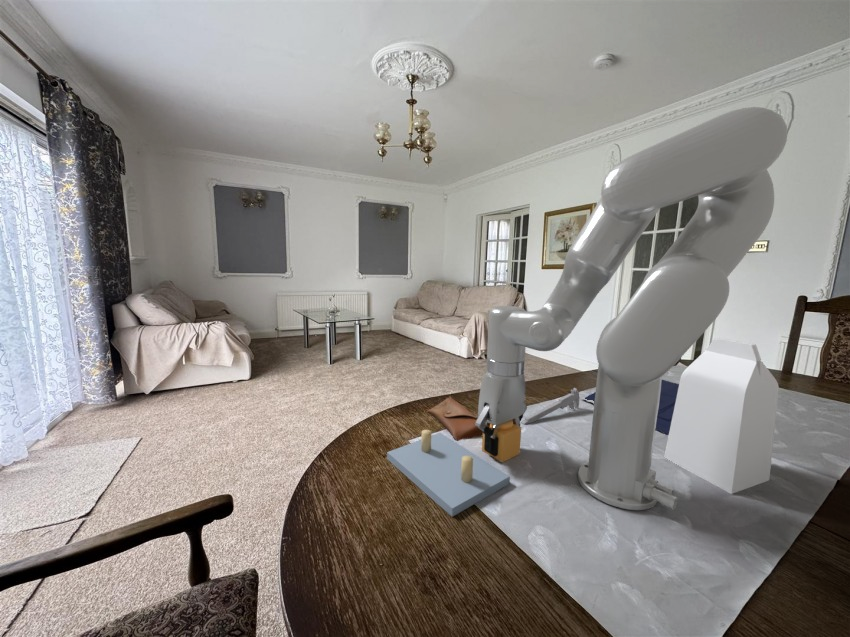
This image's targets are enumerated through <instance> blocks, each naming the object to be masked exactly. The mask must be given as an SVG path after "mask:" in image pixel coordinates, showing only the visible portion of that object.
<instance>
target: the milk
mask: <svg viewBox="0 0 850 637" xmlns="http://www.w3.org/2000/svg"><path fill="white" fill-rule="evenodd" d="M678 384H679V388H678V393H677V397H676V402H675V407H674V412H673V417H672V421H671V426H670V431H669V435H667V436H668V437H667V442H666V446H665V452H664V456H663V458H664V457H665V458H667V459H668V460H667V459H666V460H667V461H669V460H670V461H669V462H671V461H672V462H673V463H672V462H671V463H672V464H674V463H675V465H676V464H677V465H676V466H678V465H679V466H678V467H680V468H682V469H684V470H685V471H688V472H689V473H691V474H693V475H694V476H697V477H699V478H701V479H703V480H705V481H707V482H708V483H710V484H712V485H713V486H715V487H718V488H719V489H721V490H722V491H723V490H724V491H725V492H726V493H729V494H731V495H733V494H734V493H739V492H741V491H744V490H747V489H749V488H752V487H754V486H757V485H760V484H763V483H765V482H768V481H770V477H771V476H770V475H771V467H772V459H773V449H774V439H775V430H776V419H777V412H778V401H779V392H780V389H779V388H780V387H779V383H778V381H777V379H776V378H775V376H774V375H773V373H772V372H770V370H769V369H768V367H767V366H766V365H765V364H764V362H763V361H762V358H761V356H760V353H759V350H758V347H757V344H754V343H750V342H743V341H738V340H732V339H727V338H721V337H715V338H713V340H712V341H711V343H710V344H709V345H708V346H707V348H706V349H705V350H704V351H703V352H702V353H701V354H700V355H699V356H698V357H696V359H694V361H692V363H690V364H689V365H688V366H687V367H686V368H685V369H684V371H683V372H682V374H681V375H680V379H679V383H678ZM665 458H664V459H665Z"/></svg>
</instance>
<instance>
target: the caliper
mask: <svg viewBox="0 0 850 637" xmlns="http://www.w3.org/2000/svg"><path fill="white" fill-rule="evenodd" d="M579 405H580V392H579V391H578V388H576V387H573V388H572V389H570V393H568V394H565V395H564V396H561V397H559V399H558V400H557V401H555V402H553V403H552V404H549V405H548V406H546V407H543V408H541V409H540V410H538V411H535V412H534V413H532V414H530V415H528V416H526V417H525V418H524V420H521V421H520V424H522V425H527V424H532V423H534V422H536V421H538V420H540V419H542V418H543V417H545V416H547V415H549V414H552V412H555V411H556V410H558V409H561V410H564V409H565V408H567V407H569V409H570V408H571V409H574V410H575V409H576V408H578V409H579V407H580V406H579ZM574 407H576V408H574ZM571 409H570V410H571ZM531 422H532V423H531Z"/></svg>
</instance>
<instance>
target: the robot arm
mask: <svg viewBox="0 0 850 637" xmlns="http://www.w3.org/2000/svg"><path fill="white" fill-rule="evenodd" d="M788 133H789V132H788V127H787V124H786V122H785V119H784V118H783V117H782V116H781V115H780V114H779V113H777V112H776V111H774V110H772V109H769V108H766V107H759V106H752V107H749V106H748V107H742V108H739V109H738V108H737V109H734V110H731V111H728V112H725V113H722V114H720V115H718V116H716V117H713V118H711V119H708V120H706V121H704V122H702V123H700V124H698V125H696V126H693V127H691V128H689V129H686V130H685V131H683V132H680V133H678V134H676V135H674V136H672V137H670V138H667V139H664V140H662V141H660V142H659V143H656V144H654V145H650V146H649V147H646V148H645V149H642V150H640V151H639V152H637V153H634V154H632V155H630V156H627V157H626V158H624V159H623V160H621V161H619V162H618V163H616V165H614V166H613V167H612V168H611V169H610V170H609V171H608V172H607V175H605V177H604V179H603V181H602V185H601V194H600V195H601V197H600V199H599V201H598V202H597V204H596V205H595V207H594V208H593V210H592V212H591V214H590V215H589V216H588V219H587V220H586V221H585V223H584V224H583V226H582V227H581V229H580V231H579V233H578V234H577V236H576V237H575V239H574V241H573V242H572V243H571V245H570V247H569V248H568V250H567V252H566V256H565V259H564V264H563V265H564V266H563V268H562V269H563V270H562V273H561V275H560V277H559V279H558V281H557V284H556V285H555V286H554V287H555V288H554V289H553V290H552V292H551V293H550V295H549V296H548V298H547V300H546V301H545V303H544V305H543V306H542V307H541V309H540V308H539V309H538V310H533V311H529V310H528V311H526V309H524V308H523V307H519V306H514V305H498V306H494V307H491V309H490V310H489V314H488V325H487V328H488V329H487V330H488V331H487V345H486V347H487V350H486V372H485V373H483V376H482V379H481V384H480V388H479V394H478V395H479V397H478V406H477V408H478V409H477V418H478V419H477V421H476V423H475V425H476V426H477V427H478V428H479V429H480V430H481V431H482V432H483V434H485V442H484V450H485V451H486V452H488V453H490V454H491V455H493V456H497V454H498V438H497V437H496V436H497V432H498V429H499V425H500V424H502V423H504V422H507V421H509V420H512V419H513V424H515V425H518V426H520V427H521V422H522V420H523V417H524V414H525V413H526V411H527V409H528V406H527V404H526V381H525V380H526V379H525V361H526V348H527V349H531V350H533V351H539V352H550V351H554V350H556V349H557V348H558V347H560V346H561V345H562V344H563V343H564V341H565V340H566V339H567V338H568V337H569V336H570V335H571V333H572V331H573V330H574V329H575V327H576V326H577V325H578V323H579V321H580V320H581V319H582V317H583V316H584V315H585V312H586V311H587V310H588V308H589V307H590V306H591V304H592V303H593V301H594V300H595V299H596V297H597V296H598V294H599V293H600V292H601V291H602V289H604V287H605V286H606V285H607V284H608V283H610V281H611V279H612V277H613V276H614V275H615V273H616V272H617V270H618V269H619V268H620V266H621V265H622V263H623V262H624V261H625V259H626V257H627V256H628V255H629V253H630V252H631V251H632V249H633V248H634V246H635V245H636V243H637V242H638V240H639V238H641V236H642V234H644V232H645V230H647V228H648V226H649V225H650V223H651V222H652V221H653V219H654V217H655V216H656V214H658V212H659V211H660V209H662V208H666V207H668V206H672V205H675V204H678V203H681V202H683V201H686V200H689V199H692V198H694V197H698V204H697V208H696V210H695V212H694V214H693V215H692V217H691V218H690V220H689V221H688V222H687V224H686V225H685V227H684V228H683V229H682V231H681V233H680V234H679V235H678V237H677V238H676V239H675V241H674V242H673V243H672V245H671V246H670V247H669V248H668V249H667V251H666V252H665V254H664V255H663V256H662V257H661V258H660V260H658V262H657V263H655V264H654V265H653V266H652V267H651V268H650V269H649V271H647V273H646V275H645V276H644V278H643V281H642V282H641V284H640V285H639V286H638V287H637V289H636V291H635V292H634V293H633V295H632V296H631V297H630V298H629V299H628V301H627V302H626V304H625V305H624V307H623V308H622V309H621V310H620V312H619V313H618V315H617V316H616V317H614V318H613V319H611V320H610V321H609V322H607V324H606V325H605V326H604V328H602V331H601V333H600V335H599V338H598V341H597V344H596V350H595V351H596V352H595V353H596V360H597V363H598V366H597V377H596V385H595V392H596V393H595V401H594V404H593V410H592V411H593V412H592V423H591V424H592V425H591V433H590V444H589V452H588V453H589V454H588V455H589V456H588V462H586V463H583V464H582V465H581V466H580V467H579V468H578V474H577V479H578V482H579V483H580V485H581V486H582V488H583V490H585V491H586V492H587V493H589V494H590V495H591V496H593V497H594V498H596V499H597V500H599V501H601V502H603V503H605V504H608V505H610V506H613V507H616V508H620V509H625V510H631V511H643V510H648V509H651V508H653V507H654V506H655V505H656V504H657V503H660V504H661V505H663V506H665V507H666V508H668V509H671V510H673V511H674V510H676V507H677V506H678V505H677V504H678V497H677V496H674V492H675V491H674V489H673V488H671V487H670V486H667V485H664V484H661V483H659V481H658V480H656V475H657V474H656V473H657V471H655V470H653V469H651V466H652V459H653V458H652V457H653V451H654V450H653V449H654V442H655V434H656V421H657V414H658V408H659V400H660V391H661V381H662V380H663V376H665V375H666V374H667V373H668V372H669V371H670V370H671V369H672V368H673V367H674V366H675V365H676V363H677V362H679V360H680V359H682V357H683V356H684V355H685V354H686V353H687V351H688V350H689V349H690V348H691V347H692V346H693V345H694V344H695V343H696V342H697V341H698V340H699V339H700V337H701V336H702V335H703V334H704V333H705V332H706V331H707V330H708V329H709V327H710V326H711V325H712V324H713V323H714V322H715V320H716V319H717V318H718V317H719V315H720V314H721V312H722V311H723V309H724V308H725V306H726V304H727V301H728V299H729V296H730V283H729V278H728V277H729V276H730V275H731V274H732V273H733V271H734V270H735V269H736V268H737V267H738V265H739V264H740V263H741V262H742V260H743V259H744V258H745V256H746V255H747V253H748V252H749V251H750V250H751V248H752V247H753V246H754V245H755V244H756V242H758V239H760V237H761V236H762V235H763V233H764V231H765V230H766V229H767V227H768V225H769V223H770V222H771V221H770V220H771V218H772V214H773V211H774V207H775V190H774V189H775V187H774V184H773V180H772V178H771V176H770V173H769V171H768V169H769V168H770V167H772V165H773V164H774V163H775V162H776V160H778V159H779V157H780V156H781V154H782V152H783V150H784V149H785V146H786V144H787V142H788V141H787V140H788ZM490 424H492V425H493V429H492V430H491V429H490V428H489V427H490Z"/></svg>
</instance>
